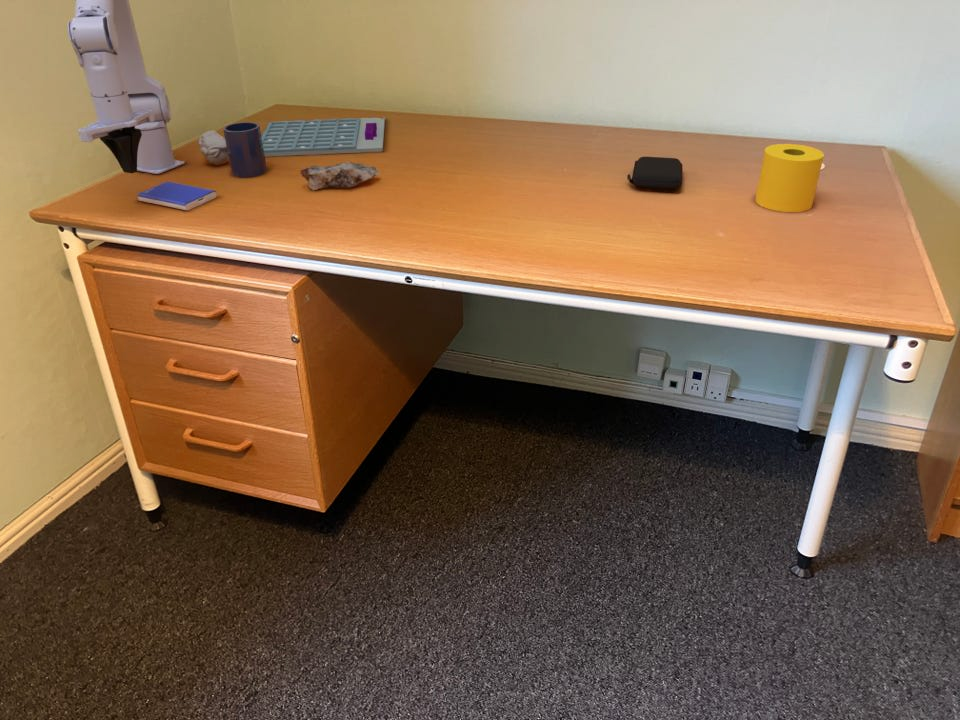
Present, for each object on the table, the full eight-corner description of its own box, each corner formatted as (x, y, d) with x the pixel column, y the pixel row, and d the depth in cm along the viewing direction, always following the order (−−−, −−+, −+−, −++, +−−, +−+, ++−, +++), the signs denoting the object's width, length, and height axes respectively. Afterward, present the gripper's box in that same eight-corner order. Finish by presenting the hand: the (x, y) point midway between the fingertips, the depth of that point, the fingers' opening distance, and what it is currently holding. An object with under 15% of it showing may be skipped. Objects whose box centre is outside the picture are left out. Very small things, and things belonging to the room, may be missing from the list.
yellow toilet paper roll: (784, 215, 135) (795, 164, 130) (743, 198, 142) (752, 149, 137) (824, 205, 139) (836, 155, 134) (782, 189, 146) (792, 140, 141)
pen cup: (224, 174, 158) (215, 129, 153) (247, 164, 164) (239, 120, 158) (251, 179, 155) (243, 133, 150) (274, 169, 161) (266, 124, 156)
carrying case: (629, 167, 158) (625, 191, 146) (630, 153, 157) (626, 176, 145) (681, 170, 156) (681, 195, 144) (683, 156, 155) (683, 179, 143)
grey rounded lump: (219, 157, 168) (212, 126, 164) (239, 163, 165) (233, 131, 161) (196, 164, 164) (189, 132, 160) (217, 170, 161) (210, 137, 157)
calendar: (272, 123, 191) (270, 114, 190) (385, 119, 193) (384, 109, 192) (254, 157, 168) (252, 146, 167) (382, 152, 170) (381, 141, 169)
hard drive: (136, 193, 145) (184, 203, 140) (168, 180, 151) (215, 189, 146) (138, 201, 146) (186, 211, 141) (170, 188, 152) (217, 197, 147)
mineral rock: (379, 176, 156) (377, 155, 153) (376, 189, 149) (374, 167, 147) (307, 178, 156) (304, 157, 153) (301, 192, 149) (298, 170, 147)
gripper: (90, 105, 121) (114, 187, 128) (159, 86, 132) (177, 162, 139) (60, 101, 123) (84, 181, 131) (129, 82, 134) (148, 157, 142)
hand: (130, 171), depth 135 cm, fingers closed
